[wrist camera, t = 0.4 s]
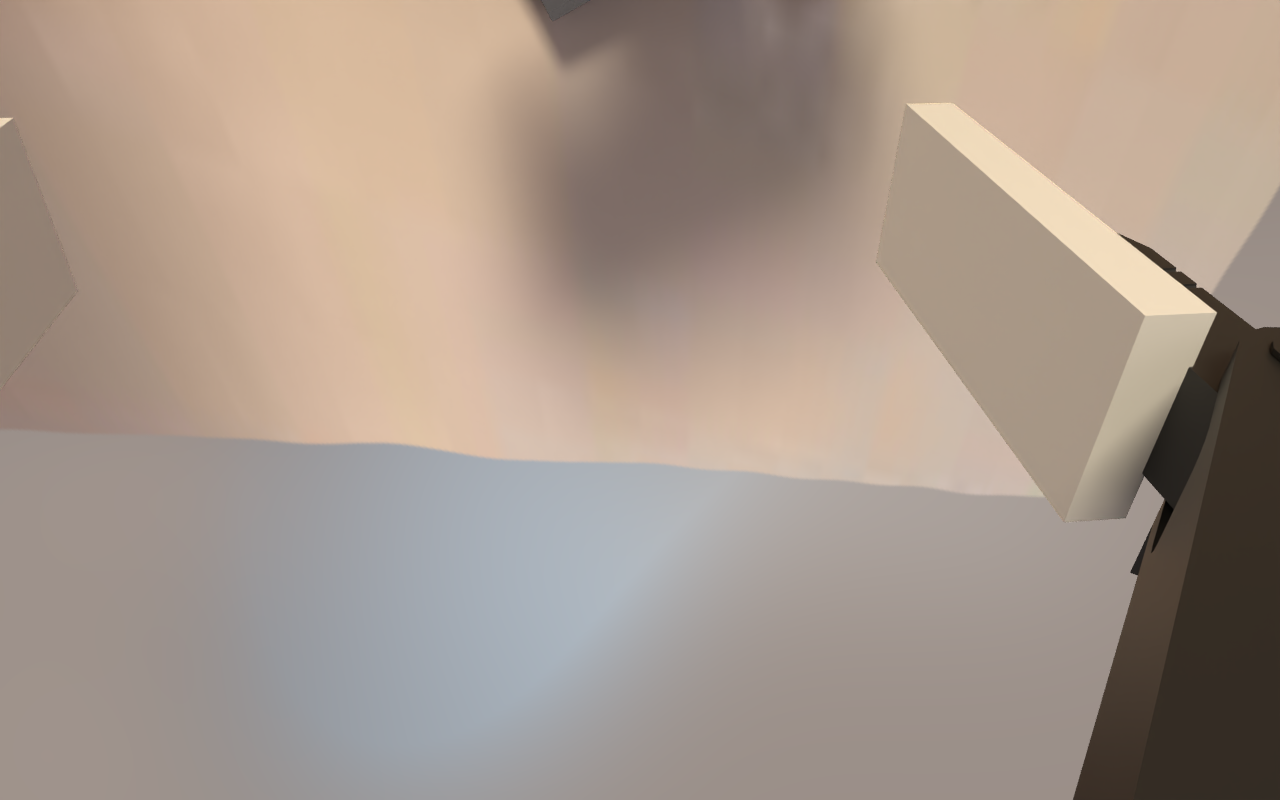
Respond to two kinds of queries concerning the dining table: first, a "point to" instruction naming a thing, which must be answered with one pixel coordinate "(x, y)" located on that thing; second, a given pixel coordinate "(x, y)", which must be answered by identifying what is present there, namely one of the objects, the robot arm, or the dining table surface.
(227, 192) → the dining table surface
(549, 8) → the post base
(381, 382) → the dining table surface
